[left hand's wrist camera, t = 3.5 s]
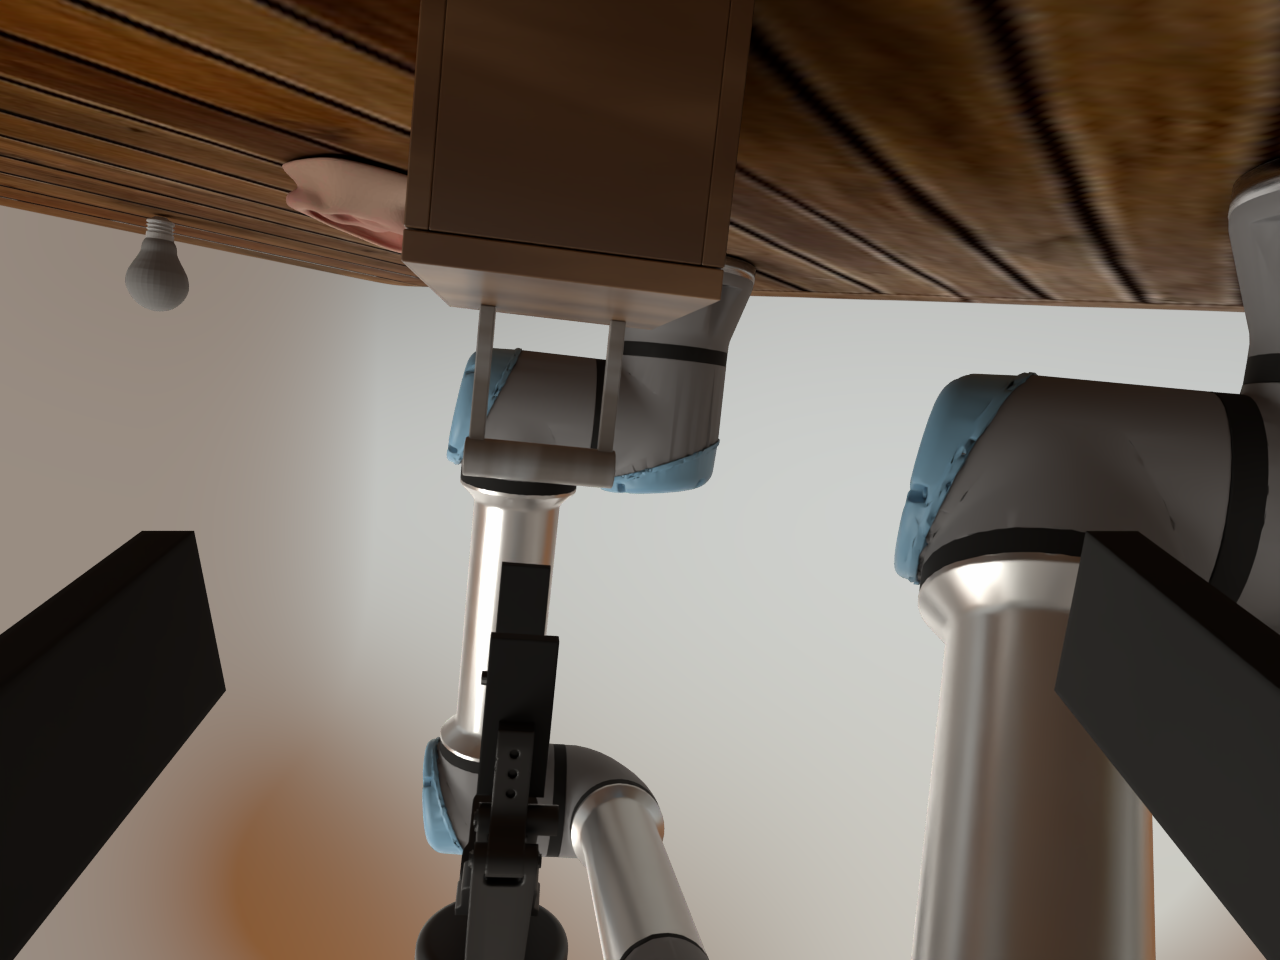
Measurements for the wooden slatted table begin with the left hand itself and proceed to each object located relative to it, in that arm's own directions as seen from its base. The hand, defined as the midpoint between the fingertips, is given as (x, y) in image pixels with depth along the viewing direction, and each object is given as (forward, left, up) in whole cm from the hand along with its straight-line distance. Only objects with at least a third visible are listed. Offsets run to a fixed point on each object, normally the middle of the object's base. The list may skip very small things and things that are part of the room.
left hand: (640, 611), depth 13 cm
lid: (-16, +17, -8) cm, 24 cm away
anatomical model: (-29, +49, -17) cm, 60 cm away
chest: (-16, +16, -17) cm, 28 cm away
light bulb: (-34, +91, -17) cm, 99 cm away
